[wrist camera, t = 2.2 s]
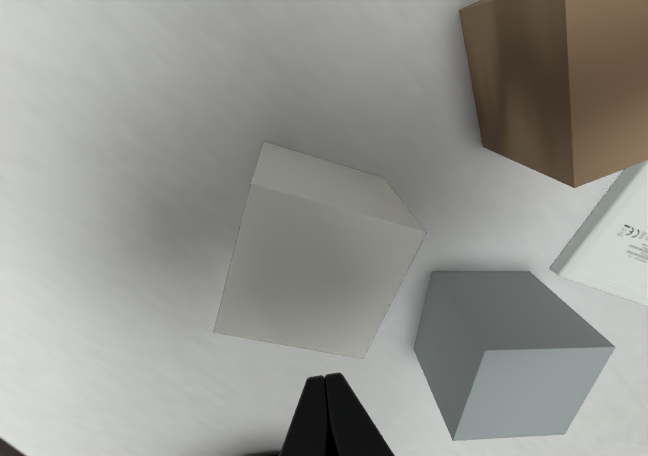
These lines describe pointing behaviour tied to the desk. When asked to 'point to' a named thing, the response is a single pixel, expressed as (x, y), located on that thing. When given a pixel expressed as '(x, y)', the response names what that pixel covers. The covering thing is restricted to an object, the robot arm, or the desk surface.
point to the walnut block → (561, 83)
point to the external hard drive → (613, 241)
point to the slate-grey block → (505, 354)
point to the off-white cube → (316, 255)
